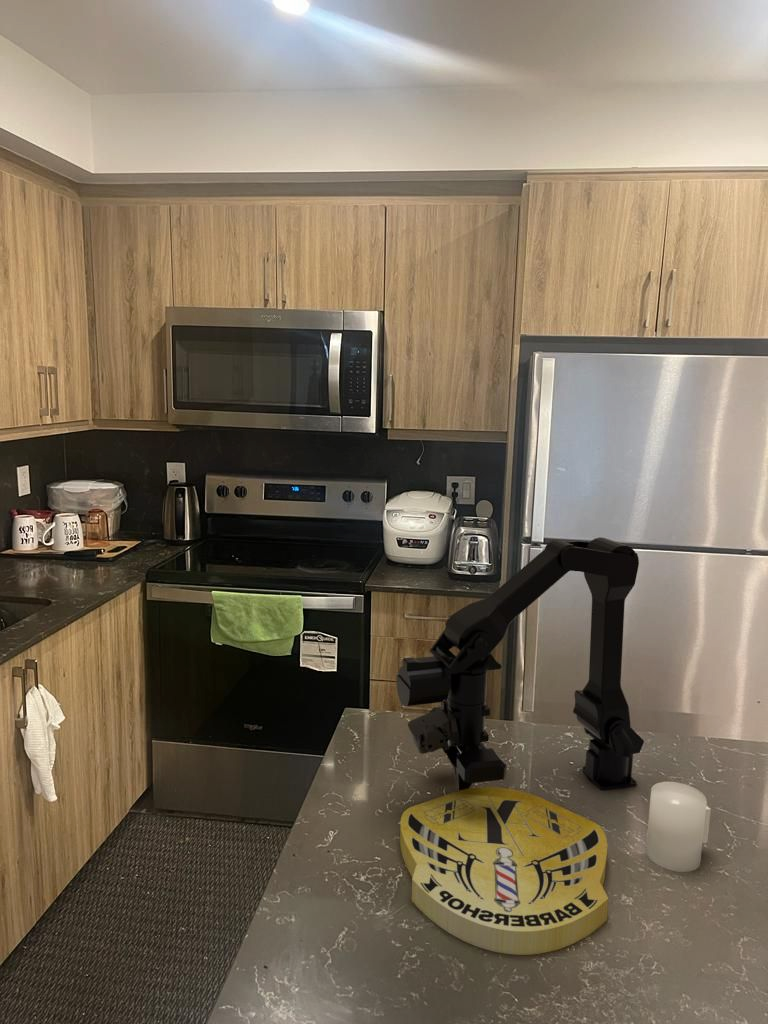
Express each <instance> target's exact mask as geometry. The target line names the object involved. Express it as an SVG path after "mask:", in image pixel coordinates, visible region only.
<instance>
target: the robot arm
mask: <svg viewBox="0 0 768 1024" xmlns="http://www.w3.org/2000/svg"><path fill="white" fill-rule="evenodd" d="M639 564H640V560H639V556H638V553H637V552H636V551H635V550H634V549H633V548H632V547H630V546H629V545H626V544H623V543H621V542H618V541H615V540H611V539H609V538H606V537H597V538H593V539H592V540H590V541H582V540H566V541H565V540H562V539H561V540H560V539H555V540H551V541H550V542H548V543H547V544H546V545H545V547H544V549H543V550H542V551H541V552H540V553H538V554H537V555H536V556H535V557H534V558H533V559H532V560H530V561H529V562H527V564H525V566H523V567H522V568H521V569H520V570H518V571H517V572H516V573H514V575H513V576H512V577H510V579H508V580H507V581H506V582H505V583H503V584H502V585H501V586H500V587H498V589H497V590H495V591H494V592H493V593H492V594H490V595H489V596H487V597H486V598H484V599H481V600H476V601H474V602H471V603H469V604H467V605H466V606H464V607H463V608H460V609H459V610H458V611H455V612H454V613H453V614H451V615H450V616H449V617H448V618H447V620H446V622H445V624H444V625H445V628H444V630H443V631H442V632H441V634H440V635H439V636H438V638H437V640H436V641H435V642H434V644H433V645H432V646H431V648H430V649H429V653H430V654H431V656H424V657H413V656H412V657H411V656H410V657H404V658H403V659H402V666H401V665H400V667H399V669H398V673H397V674H396V678H395V679H396V681H395V683H396V691H397V696H398V699H399V702H400V704H401V705H402V706H403V707H411V706H412V707H413V706H420V705H421V706H422V705H431V704H436V703H440V706H436V707H433V708H432V709H431V710H430V711H429V712H428V713H427V712H426V713H425V714H423V715H421V716H419V717H416V718H413V719H412V720H410V721H409V722H408V723H407V728H408V730H409V733H410V735H411V738H412V741H413V744H414V745H415V747H416V749H417V751H418V752H419V753H420V754H423V755H424V754H427V753H433V752H436V751H437V750H441V749H442V751H443V753H444V754H445V755H446V758H447V759H448V761H449V762H450V764H451V766H452V771H453V777H454V781H455V784H456V790H457V791H460V790H463V789H468V788H471V786H472V785H473V784H476V783H485V782H494V781H495V782H496V781H504V780H505V779H506V777H507V767H508V766H507V764H506V763H505V761H504V760H503V759H502V757H501V756H500V755H499V754H498V752H497V751H496V750H494V749H493V748H488V747H487V746H486V745H485V742H489V739H490V737H489V736H490V735H489V733H488V731H486V729H485V726H486V725H485V724H486V717H488V716H489V717H490V716H491V708H490V707H489V706H488V705H487V702H486V701H487V684H488V683H487V682H488V672H489V671H497V670H501V669H502V664H501V663H499V661H497V660H496V658H494V655H493V654H492V652H493V651H495V649H496V648H497V647H498V645H499V644H500V643H501V642H502V641H503V639H504V638H505V636H506V633H507V630H508V628H509V626H510V625H511V624H512V622H513V621H514V620H515V619H516V618H517V617H518V616H520V614H522V613H523V612H524V611H525V610H526V609H527V608H529V607H530V606H531V605H532V604H533V603H534V602H536V601H537V600H538V599H539V598H540V597H541V596H542V595H544V594H545V593H546V592H547V591H548V590H550V588H551V587H553V586H554V585H555V584H557V583H558V581H560V580H561V579H562V578H563V577H564V576H566V575H567V573H568V572H581V573H583V576H584V579H585V581H586V583H587V586H588V589H589V591H590V594H591V617H590V618H591V620H590V639H589V640H590V641H589V645H590V646H589V648H590V649H589V662H588V663H589V665H588V667H589V670H588V681H587V683H586V684H585V686H584V687H583V688H582V690H581V689H579V690H575V691H574V708H573V711H572V713H573V714H574V715H576V720H577V722H578V723H579V724H580V725H581V726H582V727H583V730H584V733H585V734H586V735H588V736H590V737H591V738H592V739H589V744H588V745H589V746H588V749H587V750H586V753H585V754H586V755H585V764H584V765H585V766H582V768H581V769H582V772H584V774H585V775H586V776H587V777H588V778H589V779H590V780H591V781H592V782H593V783H594V784H595V785H596V786H597V787H598V788H599V789H601V790H603V791H604V790H610V789H611V790H612V789H618V788H620V789H621V788H627V787H635V786H637V785H638V783H637V782H638V781H636V779H634V778H633V777H632V774H633V761H634V755H637V754H639V753H641V751H642V747H643V745H644V743H645V740H644V739H643V738H642V737H641V736H640V735H639V734H638V733H637V732H636V731H635V730H634V729H633V728H632V726H631V715H630V708H629V703H628V702H627V699H626V696H625V694H624V691H623V689H622V665H623V664H622V663H623V648H624V647H623V644H624V624H625V623H624V622H625V604H626V603H625V602H626V598H627V597H628V595H629V593H630V592H631V591H632V589H633V588H634V587H635V585H636V581H637V575H638V571H639ZM452 648H454V649H455V650H456V651H458V653H457V654H454V653H453V652H452V651H451V649H452Z"/></svg>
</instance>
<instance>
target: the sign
mask: <svg viewBox="0 0 768 1024" xmlns="http://www.w3.org/2000/svg"><path fill="white" fill-rule="evenodd" d="M399 825H400V826H399V827H400V828H399V829H400V830H399V832H400V833H399V845H400V852H401V856H402V858H403V861H404V864H405V866H406V868H407V870H408V873H409V874H410V877H411V881H412V882H411V902H412V903H413V904H414V905H415V906H416V907H417V908H418V910H420V911H421V912H422V913H423V914H424V916H426V917H427V918H428V919H429V920H431V922H433V923H434V924H436V925H437V926H438V927H440V928H441V929H442V930H444V931H445V932H447V933H449V934H450V935H451V936H454V937H455V938H457V939H459V940H461V941H463V942H465V943H467V944H469V945H472V946H475V947H477V948H481V949H484V950H485V951H486V950H488V951H490V952H495V953H500V954H505V955H506V954H507V955H515V956H517V955H518V956H521V955H523V956H524V955H527V956H528V955H538V954H545V953H549V952H554V951H557V950H560V949H563V948H565V947H568V946H571V945H573V944H575V943H577V942H579V941H580V940H583V939H585V938H587V937H588V936H589V935H591V934H592V933H593V932H596V930H597V929H598V928H600V927H602V925H603V924H605V922H606V921H607V920H608V910H609V897H608V895H607V893H606V891H605V889H604V884H605V883H604V882H605V876H606V870H607V869H606V868H607V854H608V840H607V835H606V833H605V831H604V830H603V828H602V827H601V826H600V825H599V824H598V823H596V822H594V821H593V820H590V819H588V818H586V817H584V816H582V815H579V814H577V813H575V812H572V811H570V810H568V809H566V808H564V807H562V806H559V805H557V804H556V803H553V802H550V801H548V800H546V799H544V798H542V797H540V796H537V795H534V794H532V793H528V792H525V791H521V790H517V789H512V788H505V787H497V786H496V787H495V786H479V787H478V786H477V787H470V788H468V789H463V790H460V791H458V790H457V791H454V792H451V793H448V794H445V795H442V796H439V797H436V798H433V799H431V800H428V801H425V802H422V803H421V802H420V803H418V804H415V805H412V806H410V807H408V808H407V809H405V810H404V811H403V813H402V815H401V818H400V824H399Z"/></svg>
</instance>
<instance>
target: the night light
mask: <svg viewBox="0 0 768 1024" xmlns="http://www.w3.org/2000/svg"><path fill="white" fill-rule="evenodd" d="M707 801H708V800H707V797H706V795H704V794H703V793H702V792H701V791H700V790H698V789H697V788H695V787H694V786H690V785H689V784H685V783H682V782H677V781H676V782H675V781H662V782H657V783H655V784H653V786H652V787H651V789H650V799H649V809H648V810H649V811H648V822H647V832H646V845H645V853H646V855H647V857H648V856H649V857H648V858H649V860H650V861H652V862H653V863H654V862H655V863H654V864H656V865H657V866H659V867H661V868H663V869H665V870H668V871H672V872H677V873H690V872H694V871H696V870H697V869H698V868H699V867H700V865H701V860H702V852H703V851H702V850H703V844H705V843H708V837H709V830H710V821H711V812H712V808H710V807H709V806H708V803H707Z"/></svg>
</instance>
